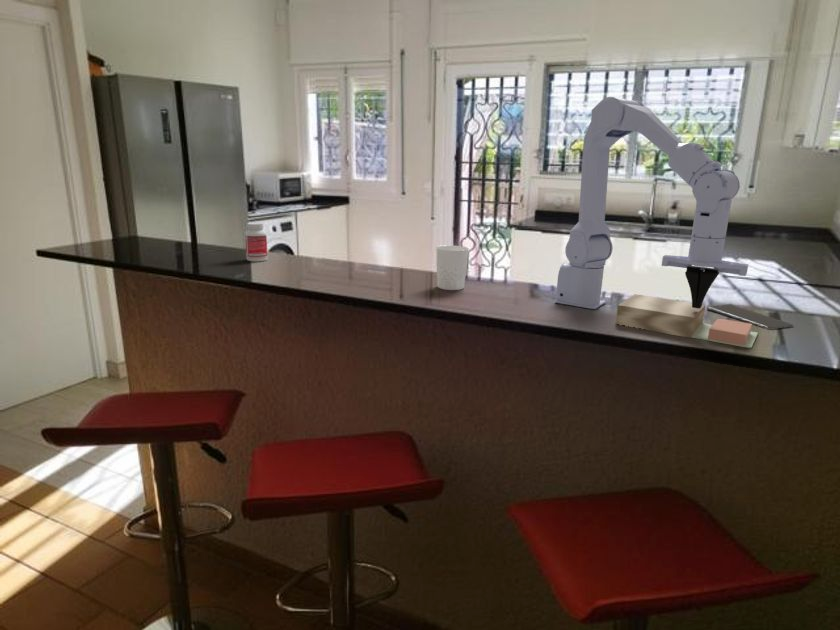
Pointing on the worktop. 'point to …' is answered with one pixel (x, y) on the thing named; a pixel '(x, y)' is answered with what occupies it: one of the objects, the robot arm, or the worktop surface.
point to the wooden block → (660, 315)
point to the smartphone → (749, 316)
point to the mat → (703, 334)
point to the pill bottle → (256, 242)
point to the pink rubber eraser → (730, 331)
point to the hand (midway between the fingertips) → (696, 307)
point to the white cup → (451, 267)
